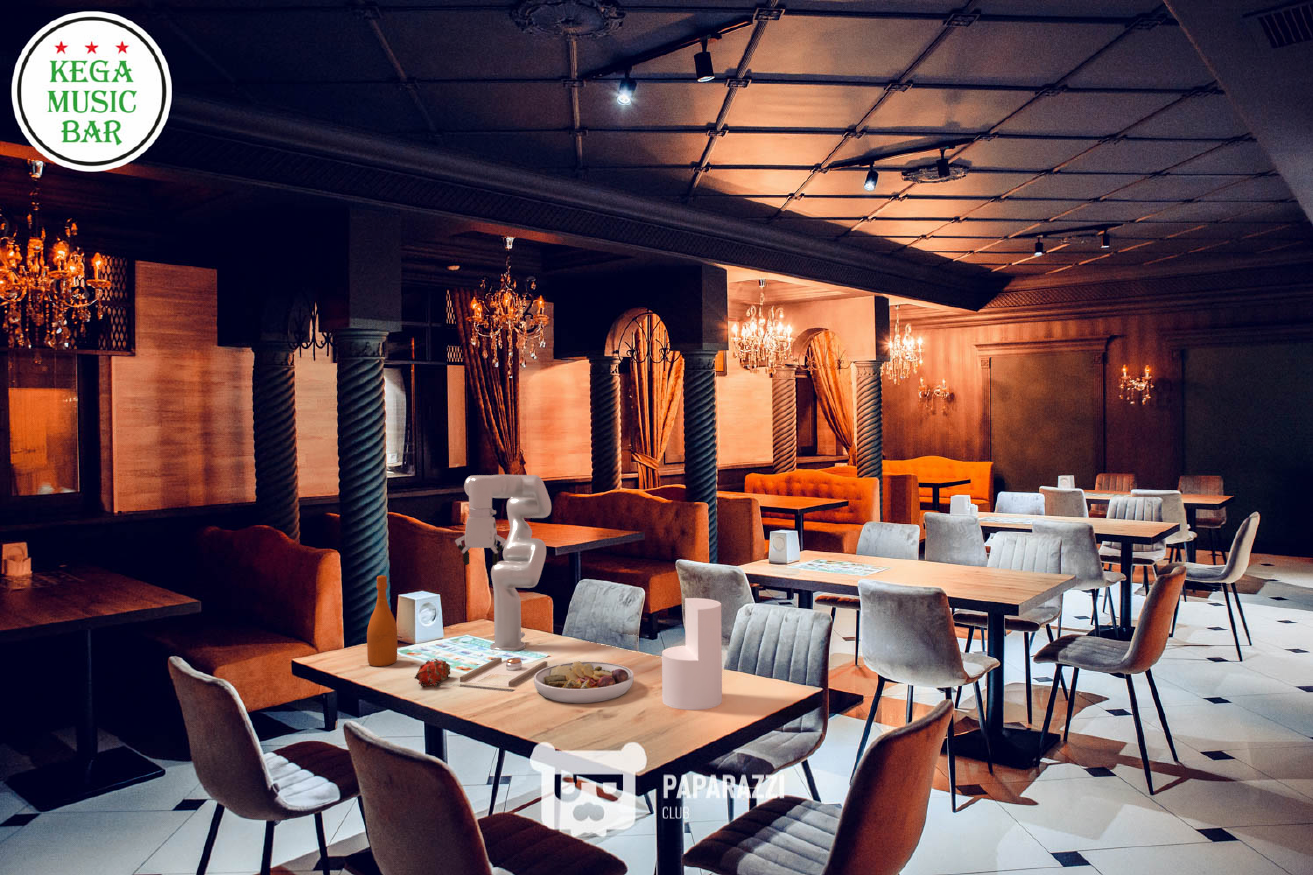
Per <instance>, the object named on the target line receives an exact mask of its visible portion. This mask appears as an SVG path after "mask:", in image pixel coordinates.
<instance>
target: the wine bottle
mask: <svg viewBox="0 0 1313 875" xmlns="http://www.w3.org/2000/svg"><path fill="white" fill-rule="evenodd" d="M387 581H388V576H386V575H384V574H381V575H378V576H377V577H376V589H377V598H376V603H375V607H374V609H373V612H372V614H371V616H370V619H369V621H368V622H369V623H368V626H367V631H366V646H367V647H366V652H367V653H366V654H367V663H368V665H370V666H372V667H373V666H374V667H386V666H391V665H392V664H395V663H396V662H397V660H398V626H397V623H396V620H395V617H394V615H393V613H392V611H391V608H390V606H389V603H388V598H387V588H388V582H387Z"/></svg>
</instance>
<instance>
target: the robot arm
mask: <svg viewBox="0 0 1313 875" xmlns="http://www.w3.org/2000/svg"><path fill="white" fill-rule="evenodd" d="M463 488H464V489H463V490H464V492H465V494H466V495H467V496H468V506H469V507H468V513H469V514H468V517H467V519H466V524H465V531H464V535H462V536H460V537H459V538H456V539H455V540H454V542H455V544H456V546H457V548H458V549H459V550H460V551H461V553H462V563H463V564H464V565H463V566H467V565H470V552H469V550H470V549H471V548H472V549H473V548H474V549H475V548H478V549H483V548H485V549H486V548H487V549H489V548H490V549H491V550H492V552H493V553H492V567H491V571H490V576H491V581H492V582H491V583H492V587H493V589H492V590H493V600H494V601H493V602H494V603H493V621H494V622H493V623H494V625H493V626H494V628H493V629H494V630H493V631H494V632H493V633H494V643H493V642H492V643H491V644H490V646H489V647H490V650H492V651H504V652H517V651H521V650H523V649H525V647H526V643H525V641H524V642H523V641H522V638H524V637H525V636H526V633H525V632H524V631H522V614H521V613H522V606H521V605H522V602H521V596H520V594H519V592H518V591H517V589H516V588H521V589H522V588H523V589H524V588H527V589H530V588H535V587H536V586H537V585H538V583H539V580H540V578H541V575H542V571H543V568H544V564H545V561H546V556H547V546H546V543H545V541H543V540H542V539H540V538H536V537H533V538H532V536H533V530H532V528H531V526H530V524H528V522H527V521H525V518H526V519H531V518H532V519H544V518H548V516H550V515H551V512H552V501H551V499H550V496H549V494H548V490H547V488H546V485H545V483H544V481H543V479H542V478H541V477H540V476H539V475H536V474H493V475H492V474H491V475H487V474H486V475H482V474H481V475H480V474H479V475H478V474H477V475H470V476H468V477H467V478H466V479H465V481H464V485H463ZM493 498H494V499H508V500H507V502H506V512H507V513H506V514H507V519H508V525H509V533H508V535H507V538H506V539H505V538H504V537H501V535H498V532H497V523H496V518H495V517H493V516H494V515H496V514H497V510H496V509H495V510H494V509H493ZM462 541H464V545H463V544H462ZM498 542H500V543H499V546H497V545H498ZM501 550H503V551H502V557H503V560H500V556H499V553H500V552H501ZM499 560H500V561H499Z"/></svg>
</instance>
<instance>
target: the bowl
mask: <svg viewBox="0 0 1313 875" xmlns="http://www.w3.org/2000/svg"><path fill="white" fill-rule="evenodd" d="M634 675H635V674H634V671H633V670H632V669H630V668H629V667H627V666H624V665H621V664H618V663H617V664H616V663H611V662H603V661H579V660H578V661H574V662H567V663H561V664H560V663H559V664H554V665H551V666H547V667H545V668H544V669H542V670H540V671H538V672H537V673H535V674H534V675H533V684H534V687H535V690H536V691H537V692H538V693H539V694H540V695H541V696H543V697H544V698H547V699H548V700H550V701H551V700H552V701H555V702H558V703H559V702H560V703H567V704H593V703H601V702H605V701H609V700H613V699H615V698H619V697H620V696H623V695H624V694H625V693H627V692H628V691H629V690H630V688H631V687H632V686H633V683H634Z"/></svg>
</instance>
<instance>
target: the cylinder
mask: <svg viewBox="0 0 1313 875" xmlns="http://www.w3.org/2000/svg"><path fill="white" fill-rule="evenodd" d="M684 601H685V602H684V610H685V611H684V612H685V614H684V616H685V617H684V619H685V624H684V628H685V634H684V635H685V636H684V637H685V645H676V646H671V647H668V648H665V649H663V651H662V652H661V674H662V675H661V686H662V688H661V696H662V697H661V698H662V703H663V704H664V705H665V706H667V707H670V708H673V709H677V710H683V711H701V710H707V709H708V710H709V709H713V708H715V707H718V706H719V705H721V704H722V702H723V668H722V667H723V664H722V662H723V660H722V658H723V657H722V656H723V654H722V640H723V639H722V603H721V602H720V601H719V600H716V599H711V598H704V597H703V598H701V597H685V598H684Z"/></svg>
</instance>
